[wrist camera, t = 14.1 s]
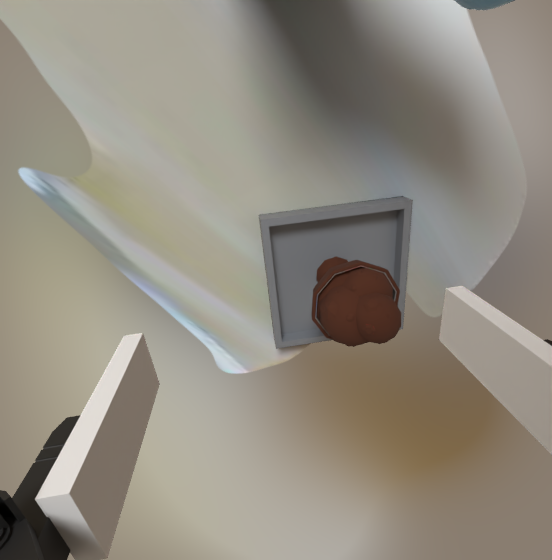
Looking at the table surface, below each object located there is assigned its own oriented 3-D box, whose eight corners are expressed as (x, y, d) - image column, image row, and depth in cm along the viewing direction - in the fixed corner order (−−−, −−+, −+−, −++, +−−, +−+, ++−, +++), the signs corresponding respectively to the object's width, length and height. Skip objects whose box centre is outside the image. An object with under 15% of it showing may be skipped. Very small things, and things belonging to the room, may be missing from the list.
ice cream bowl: (346, 223, 45) (394, 262, 31) (382, 281, 49) (438, 337, 36) (283, 267, 46) (303, 322, 33) (323, 319, 51) (355, 387, 37)
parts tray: (258, 214, 44) (260, 219, 41) (402, 196, 45) (412, 200, 42) (274, 337, 52) (276, 348, 50) (394, 319, 53) (402, 328, 51)
